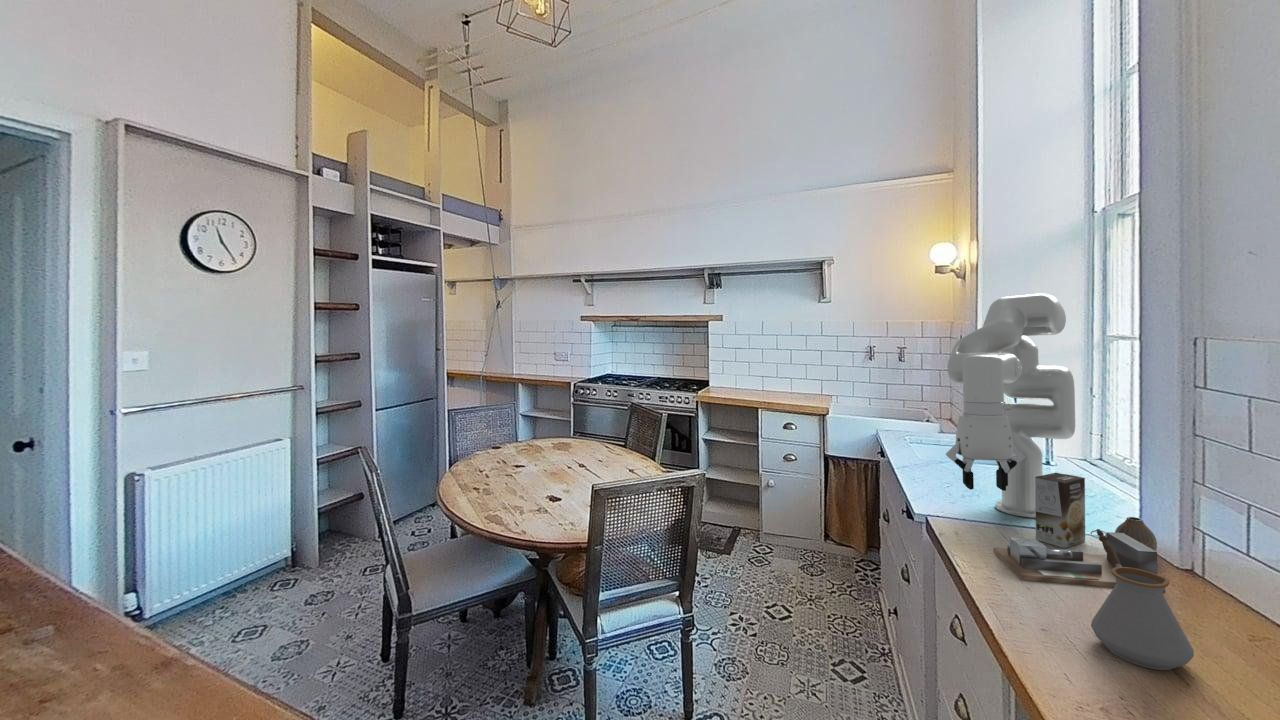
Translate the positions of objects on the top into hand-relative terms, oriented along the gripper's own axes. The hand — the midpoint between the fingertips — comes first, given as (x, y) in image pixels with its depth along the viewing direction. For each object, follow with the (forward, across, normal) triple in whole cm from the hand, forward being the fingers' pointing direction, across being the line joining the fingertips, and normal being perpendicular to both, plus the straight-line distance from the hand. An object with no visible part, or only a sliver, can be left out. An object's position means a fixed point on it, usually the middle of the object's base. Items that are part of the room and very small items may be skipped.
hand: (985, 487), depth 109 cm
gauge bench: (+18, -16, 0) cm, 24 cm away
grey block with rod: (+16, -11, +2) cm, 20 cm away
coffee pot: (+18, -11, +26) cm, 33 cm away
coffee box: (+18, -22, -17) cm, 33 cm away
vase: (+18, -33, -10) cm, 39 cm away
